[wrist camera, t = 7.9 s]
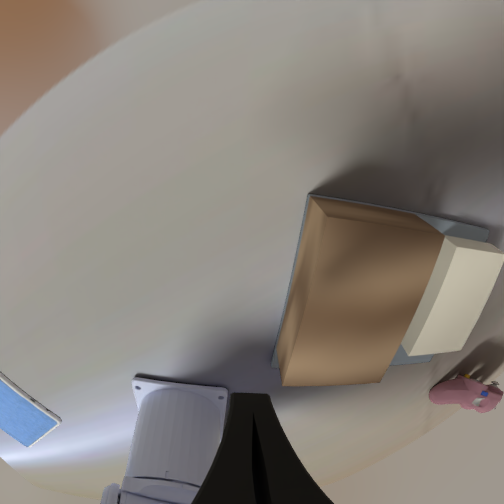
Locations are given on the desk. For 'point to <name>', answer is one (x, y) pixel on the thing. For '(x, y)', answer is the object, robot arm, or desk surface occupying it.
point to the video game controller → (467, 393)
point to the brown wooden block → (353, 292)
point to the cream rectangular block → (453, 296)
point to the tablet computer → (23, 415)
